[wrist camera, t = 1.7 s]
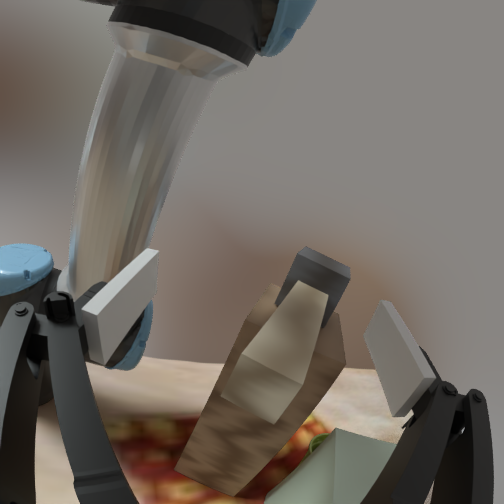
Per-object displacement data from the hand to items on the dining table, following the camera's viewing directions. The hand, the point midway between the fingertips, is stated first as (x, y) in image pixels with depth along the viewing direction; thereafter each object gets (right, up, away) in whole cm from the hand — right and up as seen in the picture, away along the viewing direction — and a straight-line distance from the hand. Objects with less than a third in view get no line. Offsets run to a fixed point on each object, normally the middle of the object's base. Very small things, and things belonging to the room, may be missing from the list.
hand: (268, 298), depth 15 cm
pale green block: (+5, -39, +9) cm, 40 cm away
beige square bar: (+2, -5, +9) cm, 10 cm away
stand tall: (-7, -31, +21) cm, 38 cm away
